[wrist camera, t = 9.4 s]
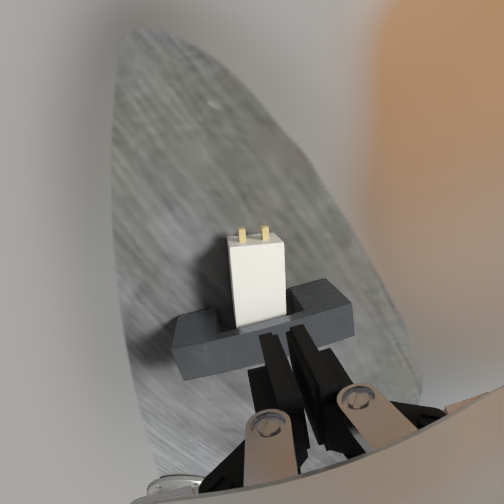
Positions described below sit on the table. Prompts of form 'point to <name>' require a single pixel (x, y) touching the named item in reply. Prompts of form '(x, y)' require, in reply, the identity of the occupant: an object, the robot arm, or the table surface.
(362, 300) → the table surface
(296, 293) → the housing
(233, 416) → the table surface
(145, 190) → the table surface
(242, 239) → the plug
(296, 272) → the table surface
